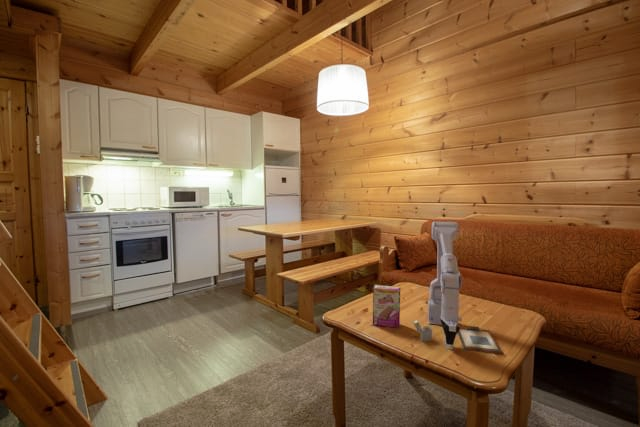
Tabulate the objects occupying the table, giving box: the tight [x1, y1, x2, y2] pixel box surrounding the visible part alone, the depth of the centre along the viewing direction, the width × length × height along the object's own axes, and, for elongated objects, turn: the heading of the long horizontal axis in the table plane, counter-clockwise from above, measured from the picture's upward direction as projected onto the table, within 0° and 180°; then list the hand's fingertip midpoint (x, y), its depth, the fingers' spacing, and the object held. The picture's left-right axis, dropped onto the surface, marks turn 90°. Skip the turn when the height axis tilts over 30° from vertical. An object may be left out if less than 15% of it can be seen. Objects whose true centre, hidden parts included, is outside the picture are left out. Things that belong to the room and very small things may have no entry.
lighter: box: [412, 319, 433, 342], centre depth 114 cm, size 7×2×8 cm, turn 100°
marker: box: [444, 337, 455, 351], centre depth 108 cm, size 3×3×8 cm
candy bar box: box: [372, 284, 401, 329], centre depth 127 cm, size 11×5×16 cm, turn 74°
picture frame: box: [457, 325, 502, 354], centre depth 113 cm, size 12×16×2 cm
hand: (449, 341), depth 108 cm, fingers closed on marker, 3 cm apart
